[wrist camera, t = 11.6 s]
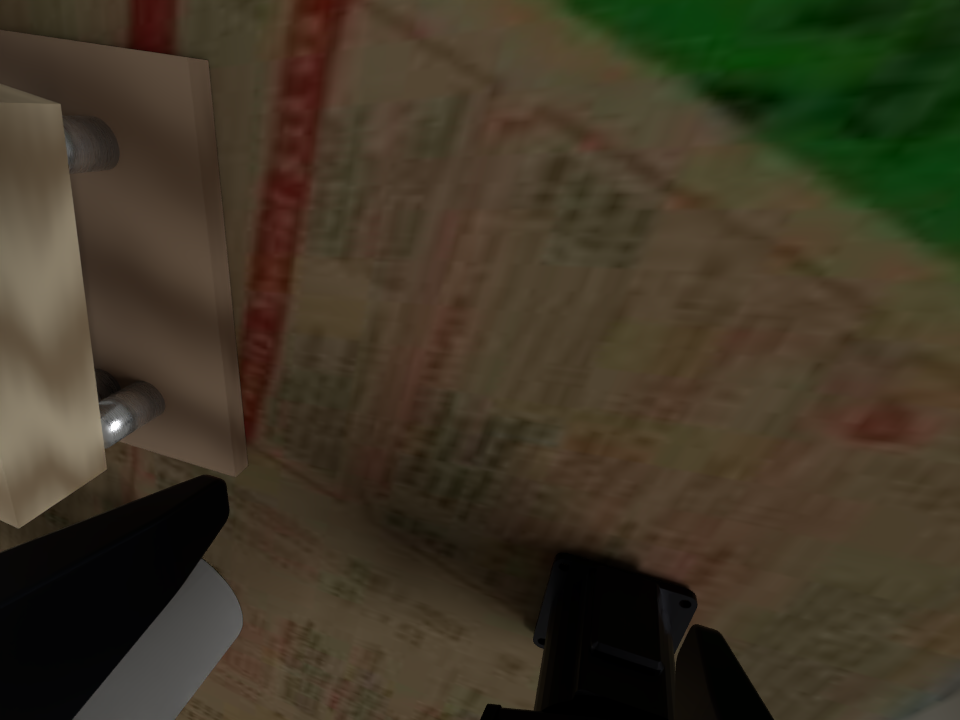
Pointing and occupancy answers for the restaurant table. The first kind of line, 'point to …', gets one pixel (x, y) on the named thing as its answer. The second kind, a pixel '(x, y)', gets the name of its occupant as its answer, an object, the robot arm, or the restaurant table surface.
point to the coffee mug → (171, 653)
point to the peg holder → (146, 241)
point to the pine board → (42, 319)
